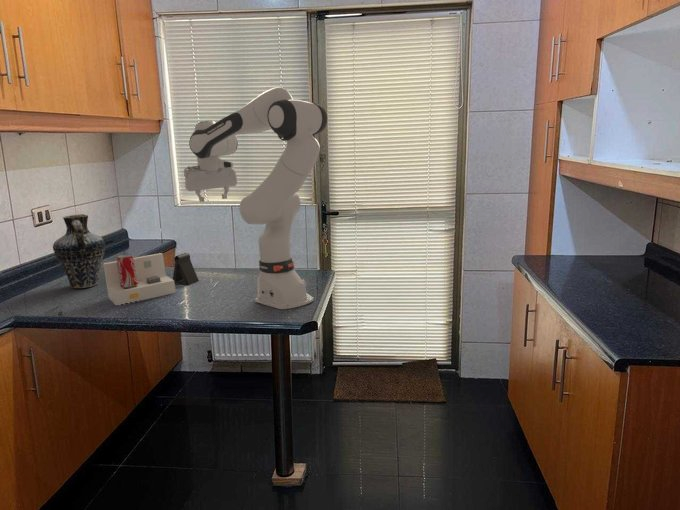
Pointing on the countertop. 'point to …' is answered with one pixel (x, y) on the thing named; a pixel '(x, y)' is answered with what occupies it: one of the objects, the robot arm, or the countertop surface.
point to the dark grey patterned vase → (80, 252)
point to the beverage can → (127, 271)
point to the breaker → (153, 279)
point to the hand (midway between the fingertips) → (213, 200)
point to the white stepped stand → (139, 280)
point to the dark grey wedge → (184, 270)
